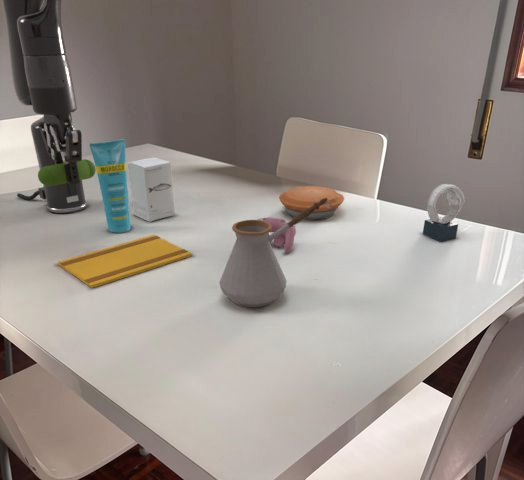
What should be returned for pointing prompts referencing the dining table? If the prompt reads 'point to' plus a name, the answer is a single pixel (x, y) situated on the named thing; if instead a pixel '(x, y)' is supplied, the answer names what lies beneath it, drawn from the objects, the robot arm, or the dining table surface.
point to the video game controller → (284, 237)
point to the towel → (123, 260)
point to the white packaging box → (151, 188)
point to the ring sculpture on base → (443, 226)
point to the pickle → (58, 176)
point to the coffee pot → (256, 262)
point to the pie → (311, 201)
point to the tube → (113, 182)
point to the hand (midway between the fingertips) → (69, 180)
